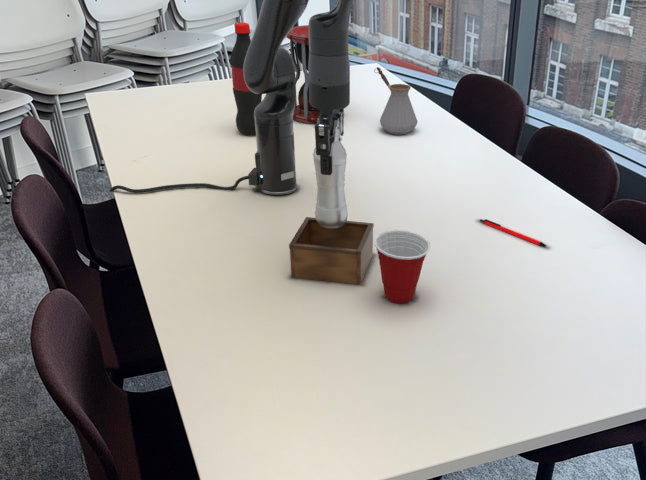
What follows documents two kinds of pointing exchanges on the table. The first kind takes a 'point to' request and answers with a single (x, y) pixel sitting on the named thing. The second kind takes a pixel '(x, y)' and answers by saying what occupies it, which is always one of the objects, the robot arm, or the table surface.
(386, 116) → the coffee pot
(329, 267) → the wooden box
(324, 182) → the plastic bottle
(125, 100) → the table surface
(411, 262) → the plastic cup
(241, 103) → the cola bottle
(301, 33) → the hourglass
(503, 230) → the pen
